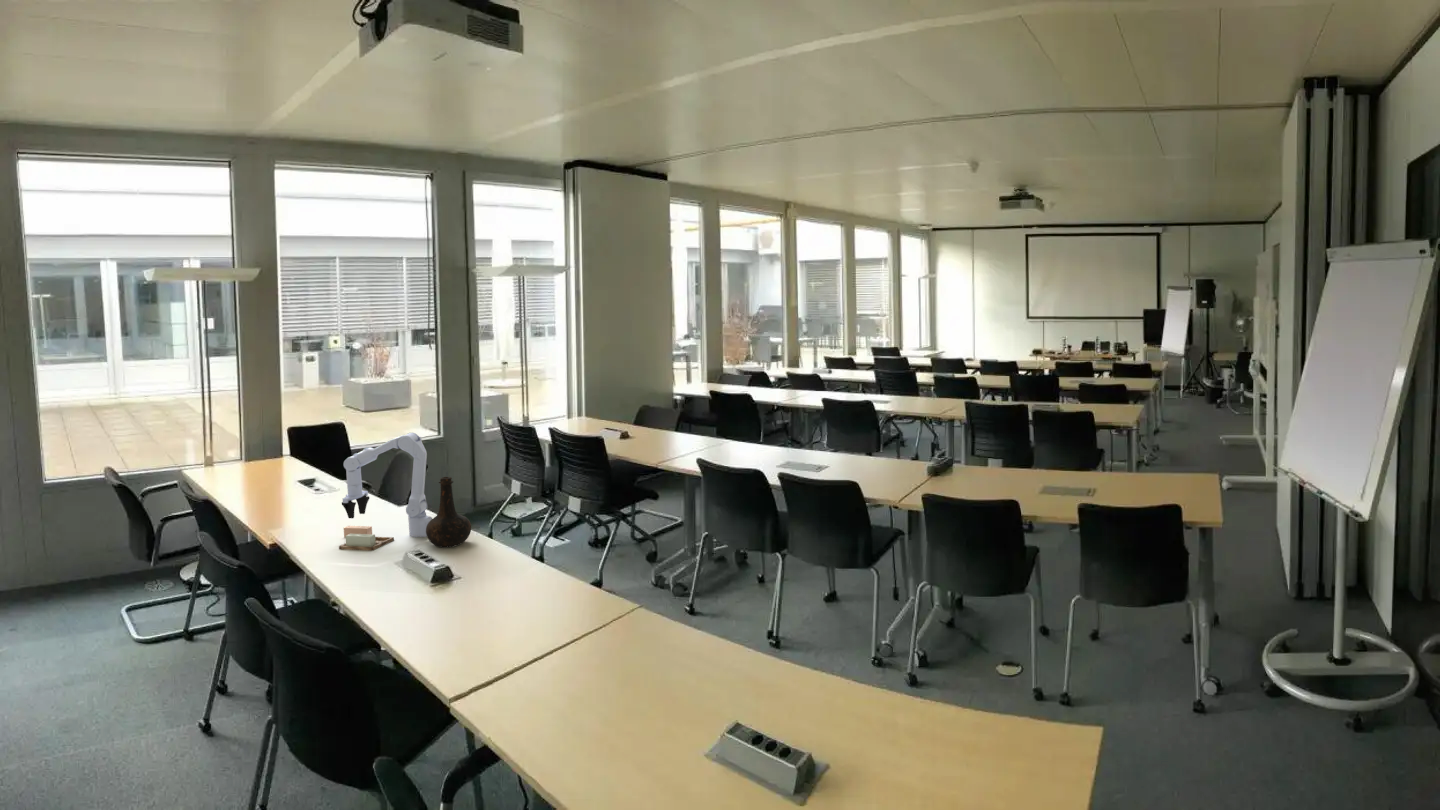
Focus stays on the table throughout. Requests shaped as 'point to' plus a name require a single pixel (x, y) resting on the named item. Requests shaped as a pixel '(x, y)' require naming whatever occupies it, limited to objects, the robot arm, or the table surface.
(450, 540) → the glass bottle
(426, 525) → the robot arm
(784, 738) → the table surface
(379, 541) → the rack
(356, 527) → the peach rectangular block
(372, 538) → the grey-green block
